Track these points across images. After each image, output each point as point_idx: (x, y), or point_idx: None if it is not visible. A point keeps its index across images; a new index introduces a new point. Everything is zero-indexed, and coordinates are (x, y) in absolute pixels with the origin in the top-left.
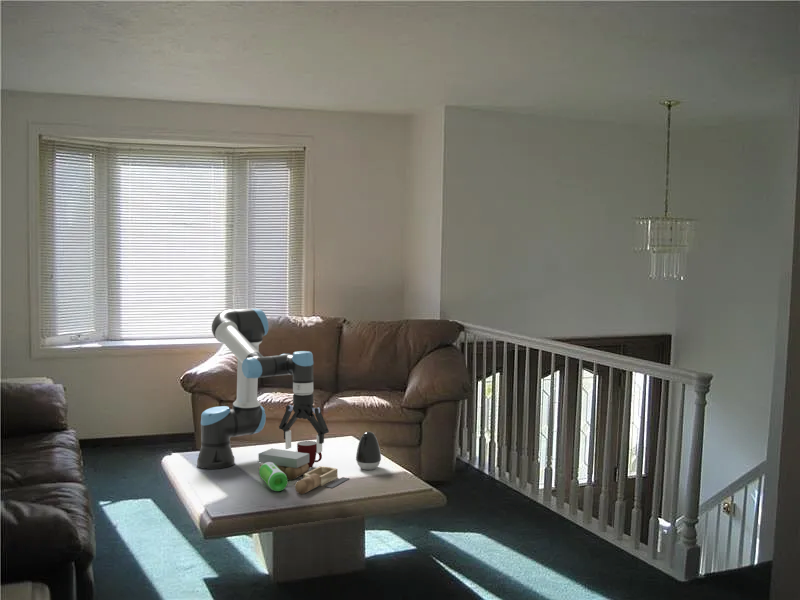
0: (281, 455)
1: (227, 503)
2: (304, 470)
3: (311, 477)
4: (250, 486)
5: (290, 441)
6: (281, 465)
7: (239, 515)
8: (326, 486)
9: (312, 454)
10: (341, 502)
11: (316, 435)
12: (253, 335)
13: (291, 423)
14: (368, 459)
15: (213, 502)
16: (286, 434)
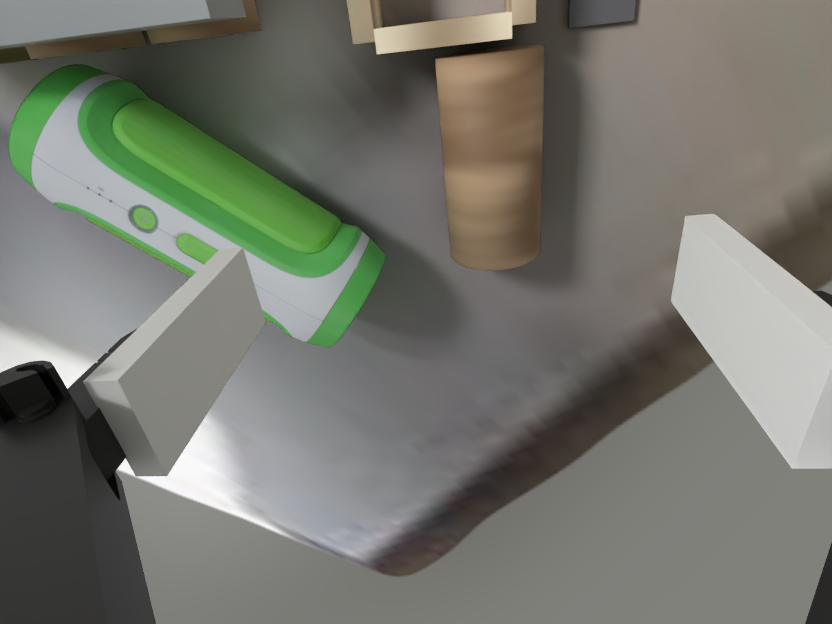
0: None
1: (293, 470)
2: None
3: (515, 157)
4: (161, 271)
5: (215, 301)
6: (88, 37)
7: (434, 528)
8: (579, 24)
9: None
10: (807, 238)
11: (790, 466)
12: None
13: (146, 610)
14: None
15: (240, 481)
16: (178, 443)
